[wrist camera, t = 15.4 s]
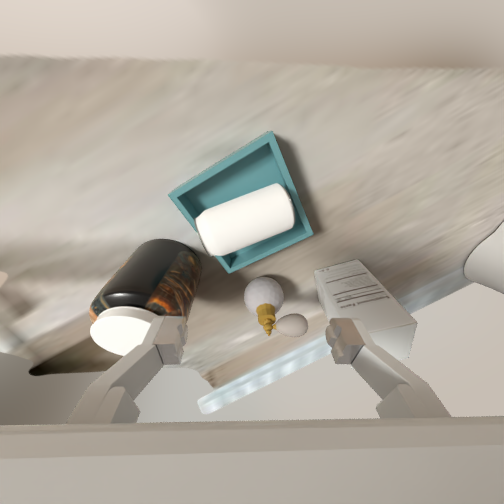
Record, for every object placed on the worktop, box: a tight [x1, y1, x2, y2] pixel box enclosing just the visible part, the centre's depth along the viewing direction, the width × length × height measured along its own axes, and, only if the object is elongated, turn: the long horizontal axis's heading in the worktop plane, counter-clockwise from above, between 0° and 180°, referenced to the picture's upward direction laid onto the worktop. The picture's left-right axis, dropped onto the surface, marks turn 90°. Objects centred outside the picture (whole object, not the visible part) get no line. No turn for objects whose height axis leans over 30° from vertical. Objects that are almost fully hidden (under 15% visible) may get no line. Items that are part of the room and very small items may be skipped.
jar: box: [89, 239, 201, 356], centre depth 29 cm, size 12×12×15 cm
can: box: [194, 183, 295, 257], centre depth 26 cm, size 6×6×12 cm
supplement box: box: [314, 259, 417, 369], centre depth 33 cm, size 9×9×15 cm
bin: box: [168, 131, 314, 274], centre depth 29 cm, size 15×15×4 cm
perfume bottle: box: [244, 277, 308, 337], centre depth 34 cm, size 8×10×12 cm
